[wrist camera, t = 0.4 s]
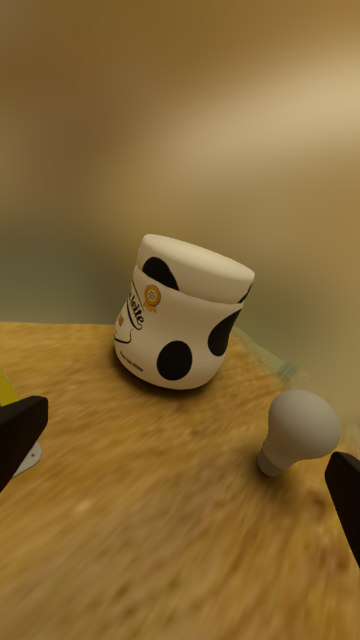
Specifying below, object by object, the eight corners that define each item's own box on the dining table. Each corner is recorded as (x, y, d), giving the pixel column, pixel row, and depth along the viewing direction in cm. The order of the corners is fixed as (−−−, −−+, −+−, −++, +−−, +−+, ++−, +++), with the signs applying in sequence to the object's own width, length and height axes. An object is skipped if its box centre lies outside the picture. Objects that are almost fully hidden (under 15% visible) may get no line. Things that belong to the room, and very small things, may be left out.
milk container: (87, 342, 35) (107, 222, 27) (164, 325, 48) (192, 241, 40) (160, 424, 26) (219, 280, 18) (230, 376, 39) (281, 280, 31)
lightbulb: (296, 513, 22) (370, 442, 17) (237, 483, 23) (293, 408, 18) (286, 457, 27) (340, 392, 23) (239, 434, 28) (282, 367, 24)
